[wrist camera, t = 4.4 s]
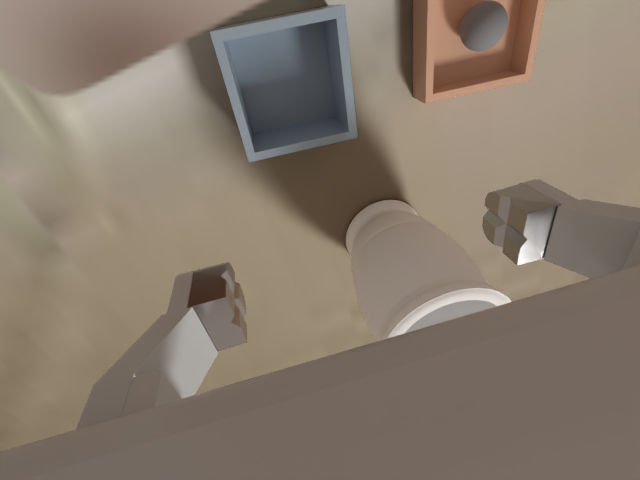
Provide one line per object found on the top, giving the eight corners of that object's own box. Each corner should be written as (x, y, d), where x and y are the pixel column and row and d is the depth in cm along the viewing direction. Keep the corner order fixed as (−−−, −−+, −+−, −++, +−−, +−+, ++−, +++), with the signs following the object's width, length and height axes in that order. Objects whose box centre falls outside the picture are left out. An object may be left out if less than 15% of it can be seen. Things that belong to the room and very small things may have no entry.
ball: (493, -4, 25) (521, -5, 23) (488, 45, 27) (513, 48, 25) (453, 5, 25) (477, 4, 23) (450, 53, 27) (472, 57, 24)
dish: (532, -60, 24) (558, -66, 22) (510, 75, 30) (530, 80, 28) (413, -37, 24) (428, -41, 22) (412, 97, 29) (425, 103, 27)
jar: (329, 201, 33) (377, 312, 21) (428, 178, 34) (531, 273, 22) (341, 280, 40) (385, 400, 27) (425, 259, 40) (505, 368, 28)
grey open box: (328, 5, 24) (344, 4, 20) (341, 119, 29) (357, 138, 25) (215, 28, 24) (209, 31, 20) (248, 140, 29) (248, 162, 25)
